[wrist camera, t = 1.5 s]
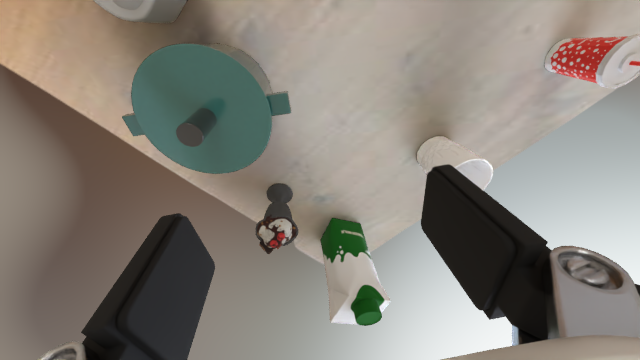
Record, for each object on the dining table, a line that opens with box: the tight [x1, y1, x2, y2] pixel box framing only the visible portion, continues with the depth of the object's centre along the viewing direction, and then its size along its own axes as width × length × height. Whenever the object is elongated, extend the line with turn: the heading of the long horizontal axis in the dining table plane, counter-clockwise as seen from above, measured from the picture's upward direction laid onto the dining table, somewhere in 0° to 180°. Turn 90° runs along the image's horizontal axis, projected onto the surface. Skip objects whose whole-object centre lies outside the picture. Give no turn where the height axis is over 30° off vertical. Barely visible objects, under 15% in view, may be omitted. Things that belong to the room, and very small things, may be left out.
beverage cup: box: [544, 34, 640, 88], centre depth 31 cm, size 6×6×14 cm
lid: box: [131, 43, 272, 174], centre depth 25 cm, size 15×15×6 cm
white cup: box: [417, 136, 493, 190], centre depth 40 cm, size 8×8×10 cm
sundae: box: [256, 184, 298, 254], centre depth 39 cm, size 7×7×15 cm
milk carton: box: [321, 218, 391, 326], centre depth 44 cm, size 9×9×20 cm
